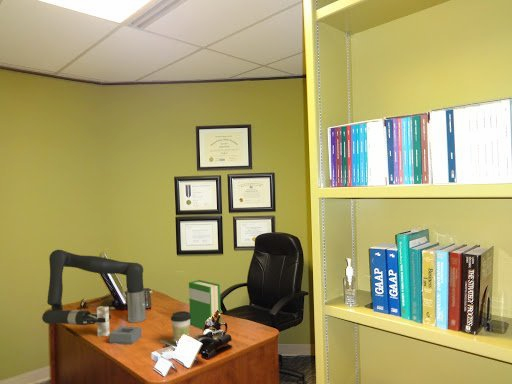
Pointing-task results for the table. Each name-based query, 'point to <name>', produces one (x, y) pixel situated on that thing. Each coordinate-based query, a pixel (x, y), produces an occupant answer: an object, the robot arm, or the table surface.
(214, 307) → the hardback book
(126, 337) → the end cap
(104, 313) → the marbled white block
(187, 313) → the coffee cup
